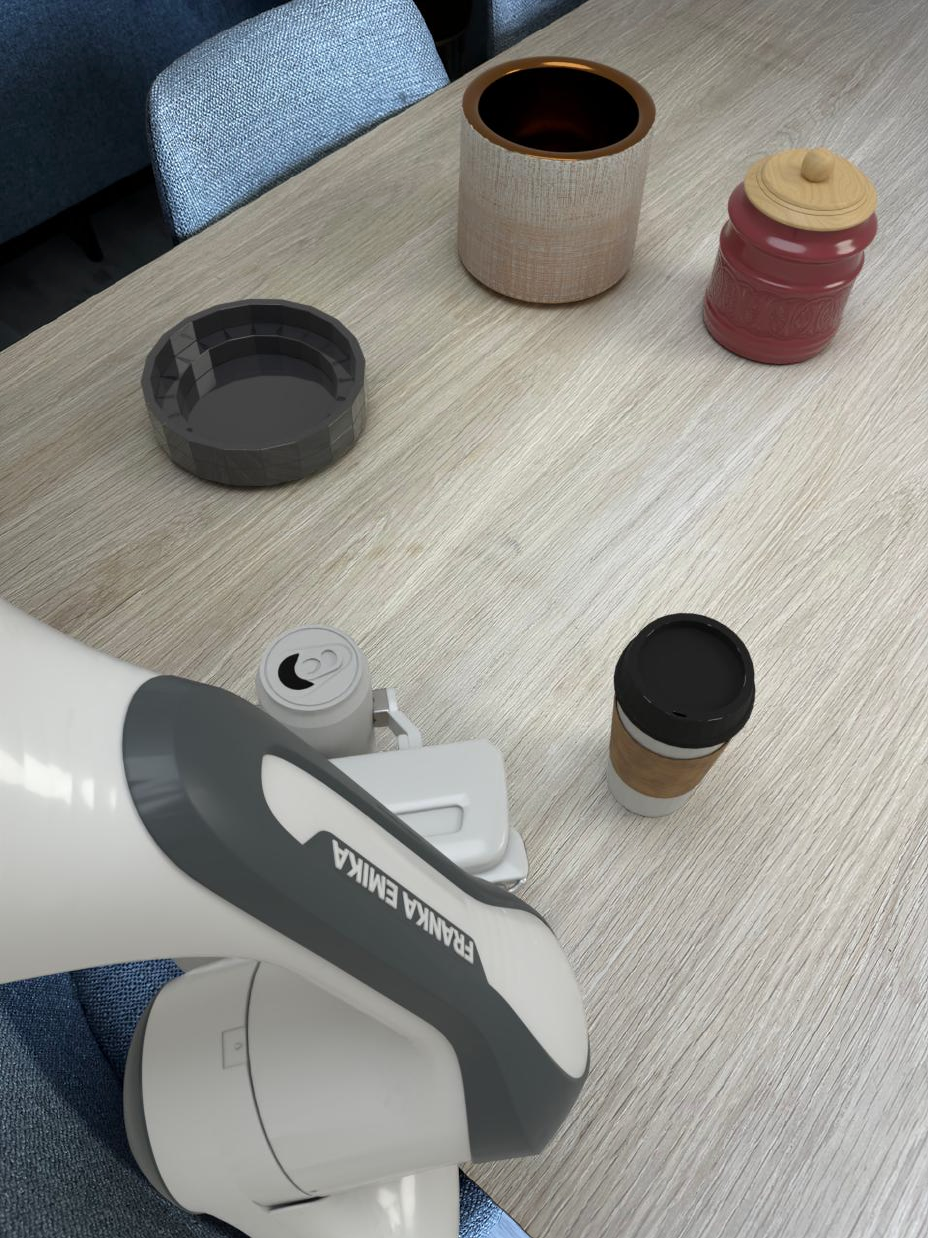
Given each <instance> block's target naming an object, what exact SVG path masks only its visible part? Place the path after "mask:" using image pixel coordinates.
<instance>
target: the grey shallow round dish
mask: <svg viewBox="0 0 928 1238" xmlns="http://www.w3.org/2000/svg"><path fill="white" fill-rule="evenodd" d="M367 378H368V375H367V361H366V358H365V355H364V352H363V350H362V348H361V345H360V343H359V340H358V338H357V337H356V336H355V335H354V334H353V333H352V332H351V331H350V330H349V328H347V326H345V325H344V324H343V323H342V322H341V320H339V319H338V318H336V317H334V316H332V315H330V314H328V313H326V312H324V311H323V310H320V309H319V308H316V307H315V306H312V305H308V304H305V303H300V302H296V301H292V300H287V299H283V298H246V299H245V298H244V299H240V300H235V301H229V302H224V303H220V304H219V303H218V304H215V305H212V306H210V307H208V308H205V309H203V310H201V311H198V312H196V313H193V314H191V315H189V316H186V317H185V318H183V319H182V320H180V321H179V322H178V323H177V324H175V325H173V326H172V327H171V328H169V329H168V330H167V331H165V332H164V333H163V334H161V336H160V337H159V339H158V340H157V342H156V343H155V344H154V345H153V347H152V348H151V349H150V351H149V352H148V354H147V355H146V357H145V361H144V365H143V370H142V373H141V378H140V385H141V390H142V394H143V399H144V402H145V407H146V410H147V413H148V417H149V420H150V423H151V426H152V429H153V432H154V436H155V439H156V441H157V442H158V444H159V445H160V446H161V448H162V449H163V450H164V451H165V453H166V454H167V455H168V456H169V458H170V459H171V460H172V461H173V462H174V463H175V464H177V465H178V466H180V467H182V468H184V469H185V470H187V471H188V472H190V473H192V474H193V475H195V476H196V477H199V478H202V479H205V480H209V481H213V482H217V483H221V484H225V485H228V486H259V487H262V486H263V487H264V486H265V487H267V486H269V487H270V486H272V485H277V484H281V483H285V482H286V483H287V482H290V481H296V480H300V479H302V478H305V477H306V476H308V475H310V474H312V473H315V472H317V471H319V470H320V469H322V468H325V467H327V466H329V465H331V464H332V463H334V462H335V461H336V460H337V459H338V458H339V457H340V456H341V455H342V454H344V453H345V452H346V451H347V450H348V449H350V447H351V446H352V445H353V444H354V443H356V441H357V439H358V436H359V435H360V432H362V429H363V427H364V425H365V423H366V421H367V419H368V403H369V402H368V401H369V390H368V388H369V387H368V379H367Z"/></svg>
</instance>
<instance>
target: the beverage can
mask: <svg viewBox="0 0 928 1238" xmlns="http://www.w3.org/2000/svg"><path fill="white" fill-rule="evenodd" d="M372 685H373V684H372V673H371V667H370V663H369V661H368V658H367V656H366V654H365V653H364V652H363V651H362V649H361V648H360V647H359V645H358V643H357V642H356V641H355V640H354V638H352V637H351V636H350V635H349V634H348V633H346V632H345V631H344V630H341V629H340V628H338V627H335V626H332V625H329V624H323V623H306V624H299V625H297V626H294V627H290V628H289V629H286V630H285V631H282V632H281V633H280V634H278V635H277V636H276V637H274V638H273V639H272V640H271V641H270V642H269V644H268V645H267V646H266V648H265V649H264V651H263V653H262V655H261V658H260V663H259V665H258V666H257V671H256V674H255V691H256V695H257V701H258V703H259V704H258V705H260V708H261V710H263V711H264V712H266V713H267V714H269V715H270V716H272V717H273V718H274V719H276V720H277V721H279V722H280V723H281V724H283V725H284V726H285V727H287V728H288V729H289V730H291V731H292V732H293V733H295V734H296V735H297V736H298V737H300V738H301V739H302V740H304V741H305V742H306V743H308V744H309V745H310V746H311V747H313V748H314V749H315V750H316V751H318V752H319V753H320V754H321V755H323V756H324V757H325V758H326V759H334V758H342V757H349V756H356V755H364V754H371V753H378V752H377V739H376V728H374V719H373V698H372V690H373V686H372Z"/></svg>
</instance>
